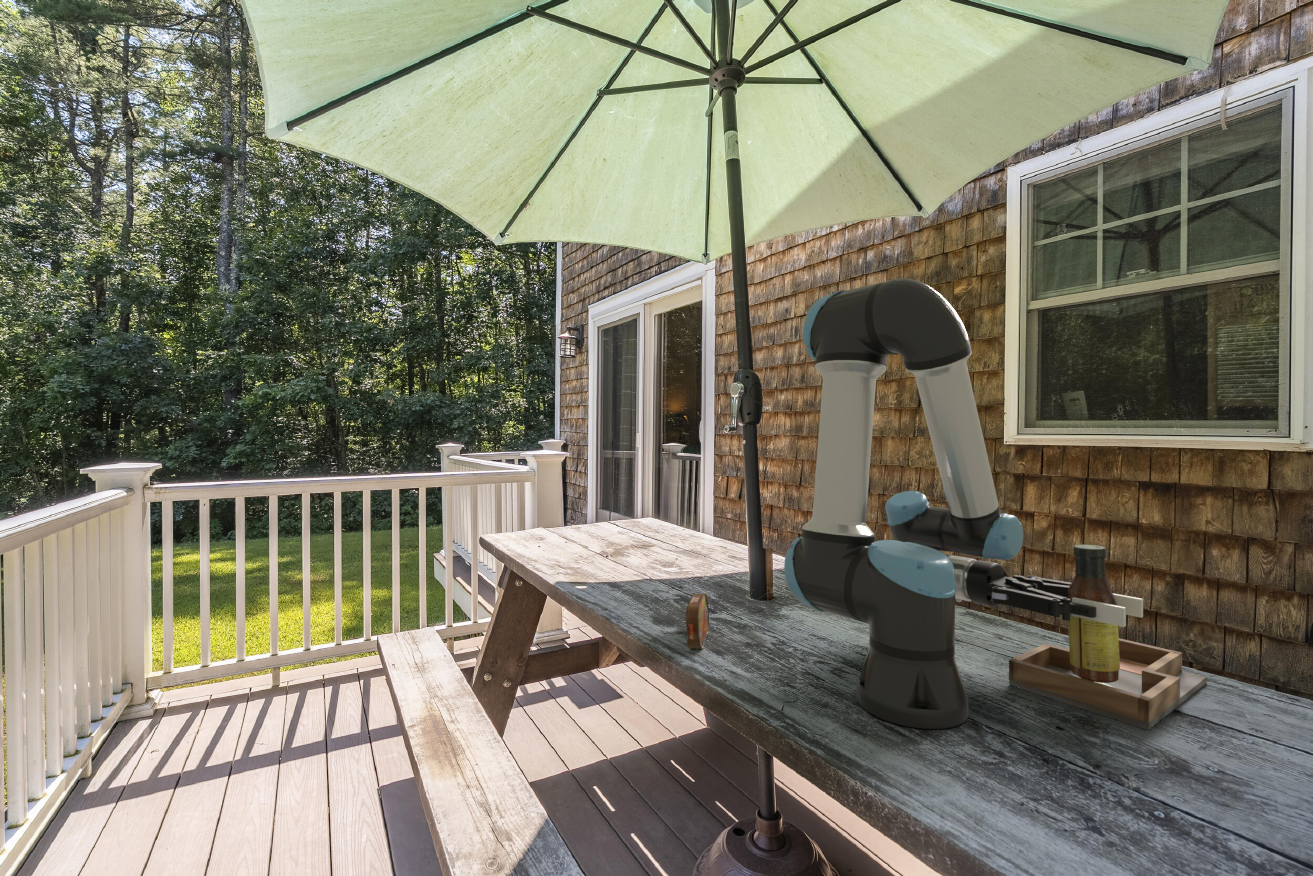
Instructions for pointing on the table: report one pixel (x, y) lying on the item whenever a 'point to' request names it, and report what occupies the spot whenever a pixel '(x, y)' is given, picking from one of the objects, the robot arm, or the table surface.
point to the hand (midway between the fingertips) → (1133, 612)
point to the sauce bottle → (1087, 638)
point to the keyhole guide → (1134, 698)
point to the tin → (697, 620)
